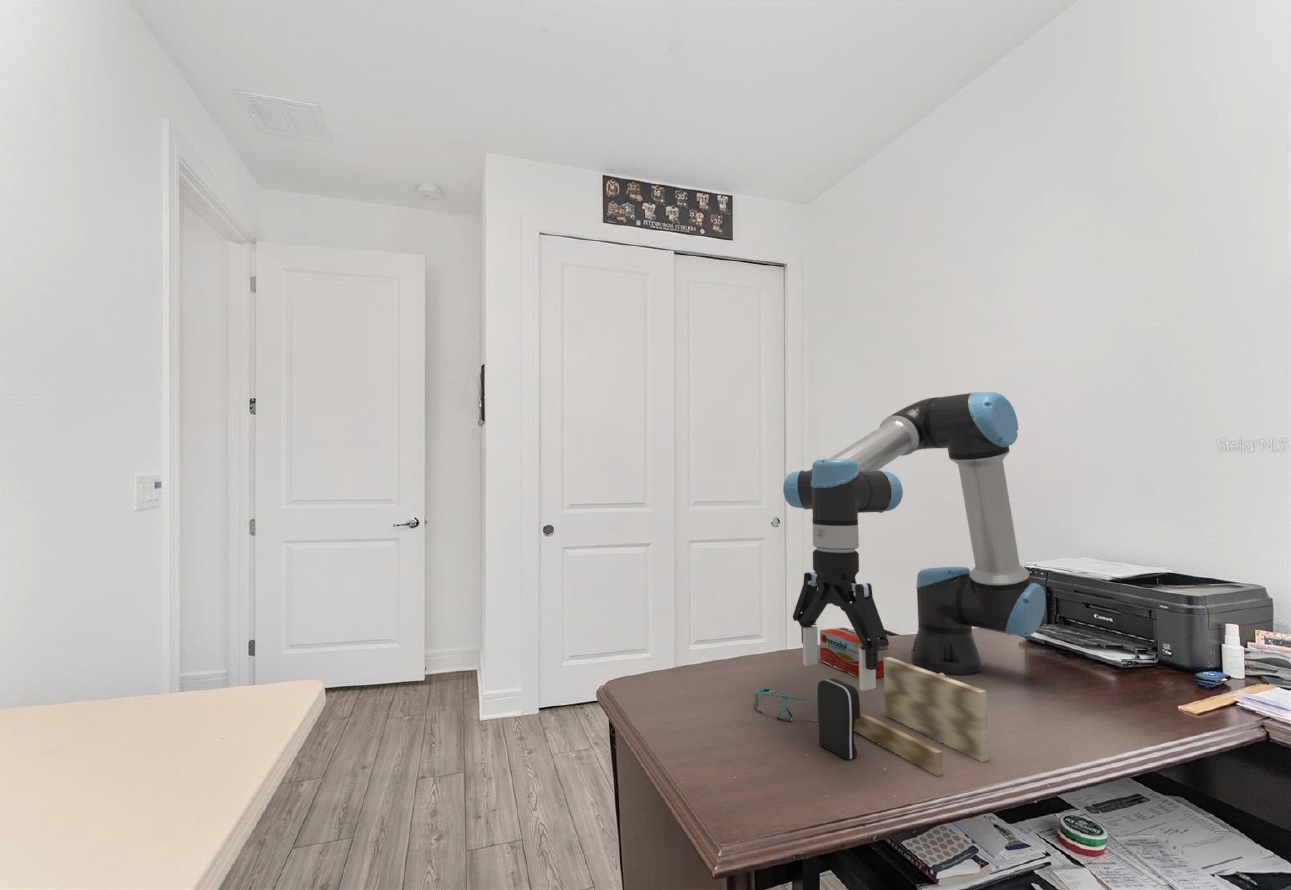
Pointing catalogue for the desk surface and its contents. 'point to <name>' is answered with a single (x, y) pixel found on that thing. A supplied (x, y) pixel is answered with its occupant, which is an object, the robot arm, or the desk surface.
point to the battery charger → (837, 716)
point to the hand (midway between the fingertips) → (837, 676)
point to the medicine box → (846, 650)
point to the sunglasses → (782, 700)
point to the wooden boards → (929, 716)
